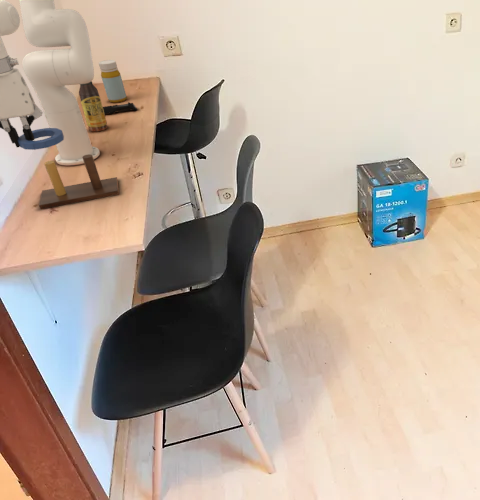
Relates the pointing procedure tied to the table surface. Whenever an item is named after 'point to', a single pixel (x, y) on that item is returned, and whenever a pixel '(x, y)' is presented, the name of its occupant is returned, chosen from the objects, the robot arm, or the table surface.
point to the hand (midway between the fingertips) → (24, 143)
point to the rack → (77, 186)
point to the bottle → (112, 81)
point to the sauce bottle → (92, 107)
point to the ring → (45, 143)
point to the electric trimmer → (119, 108)
